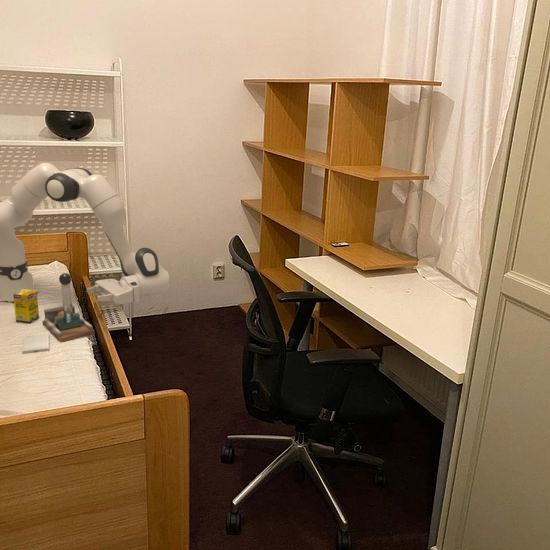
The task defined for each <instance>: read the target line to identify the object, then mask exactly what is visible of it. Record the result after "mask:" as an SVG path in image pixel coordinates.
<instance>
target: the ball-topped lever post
mask: <svg viewBox="0 0 550 550" xmlns="http://www.w3.org/2000/svg"><path fill="white" fill-rule="evenodd" d="M71 281H72V276H71V275H70V274H69V273H66V272H65V273H64V272H63V273H61V274H60V275H59V277H58V282H59V283H60V288H61V298H62V301H61V302H62V306H63V312H64V315H62V316H57V317H54V322H55V327H56V328H58V329H59V330H64V329H69V328H73V327H78V326H82V320H81V319H80V316H81V313H79V312H78V311H77V312H75V313H73V310H72V305H73V300H72V289H71V283H72V282H71Z"/></svg>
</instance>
